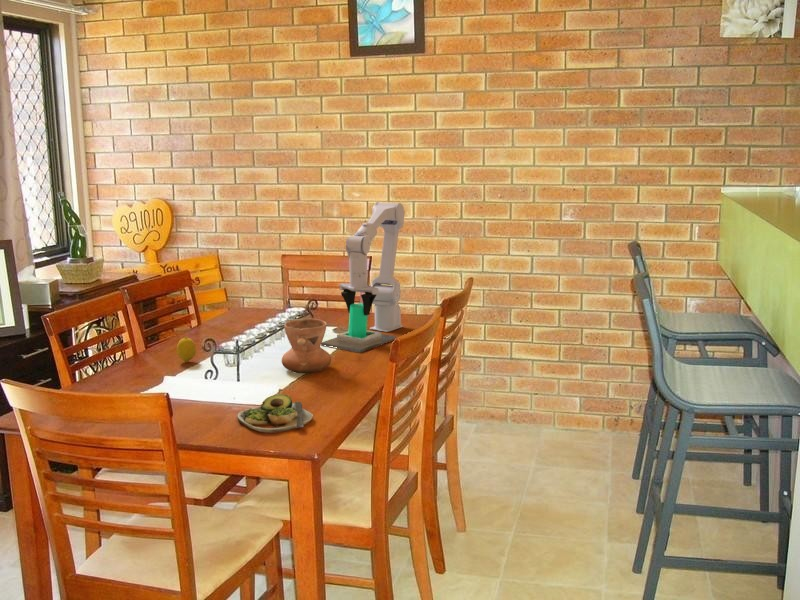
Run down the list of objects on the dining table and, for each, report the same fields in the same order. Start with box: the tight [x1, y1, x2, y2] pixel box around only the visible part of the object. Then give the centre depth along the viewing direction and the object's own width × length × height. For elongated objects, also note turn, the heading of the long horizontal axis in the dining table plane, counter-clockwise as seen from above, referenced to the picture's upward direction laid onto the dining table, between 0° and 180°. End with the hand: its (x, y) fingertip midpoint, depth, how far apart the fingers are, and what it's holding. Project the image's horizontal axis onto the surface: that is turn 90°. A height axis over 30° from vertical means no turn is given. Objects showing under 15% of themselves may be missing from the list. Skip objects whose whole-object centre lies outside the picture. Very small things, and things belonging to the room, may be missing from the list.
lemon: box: [176, 336, 197, 363], centre depth 258 cm, size 6×6×8 cm
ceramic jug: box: [281, 317, 332, 374], centre depth 250 cm, size 18×14×14 cm
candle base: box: [320, 329, 398, 354], centre depth 281 cm, size 20×16×3 cm
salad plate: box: [236, 393, 314, 434], centre depth 208 cm, size 19×18×5 cm
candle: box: [348, 300, 369, 338], centre depth 280 cm, size 6×6×12 cm
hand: (358, 313), depth 279 cm, fingers closed on candle, 6 cm apart
